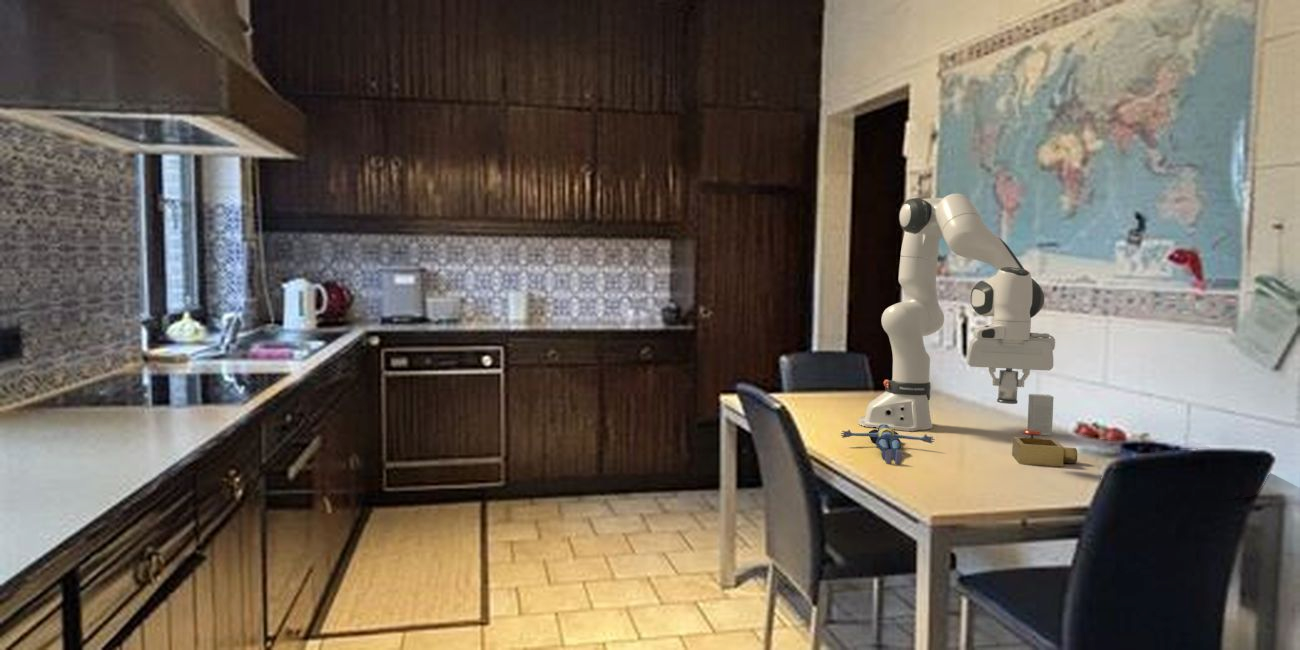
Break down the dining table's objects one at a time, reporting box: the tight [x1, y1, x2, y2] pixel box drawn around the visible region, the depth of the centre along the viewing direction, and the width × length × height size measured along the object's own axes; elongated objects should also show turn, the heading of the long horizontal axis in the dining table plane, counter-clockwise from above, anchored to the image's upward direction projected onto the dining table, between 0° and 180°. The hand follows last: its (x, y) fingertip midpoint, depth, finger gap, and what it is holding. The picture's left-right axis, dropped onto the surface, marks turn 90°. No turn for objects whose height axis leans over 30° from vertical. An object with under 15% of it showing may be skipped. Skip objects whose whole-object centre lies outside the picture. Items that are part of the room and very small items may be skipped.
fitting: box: [1011, 428, 1078, 468], centre depth 226 cm, size 14×15×6 cm
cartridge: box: [996, 368, 1019, 405], centre depth 218 cm, size 5×5×9 cm
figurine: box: [840, 424, 935, 466], centre depth 232 cm, size 22×26×5 cm
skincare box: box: [1027, 393, 1055, 436], centre depth 260 cm, size 6×4×12 cm
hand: (1008, 386), depth 218 cm, fingers closed on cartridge, 4 cm apart
